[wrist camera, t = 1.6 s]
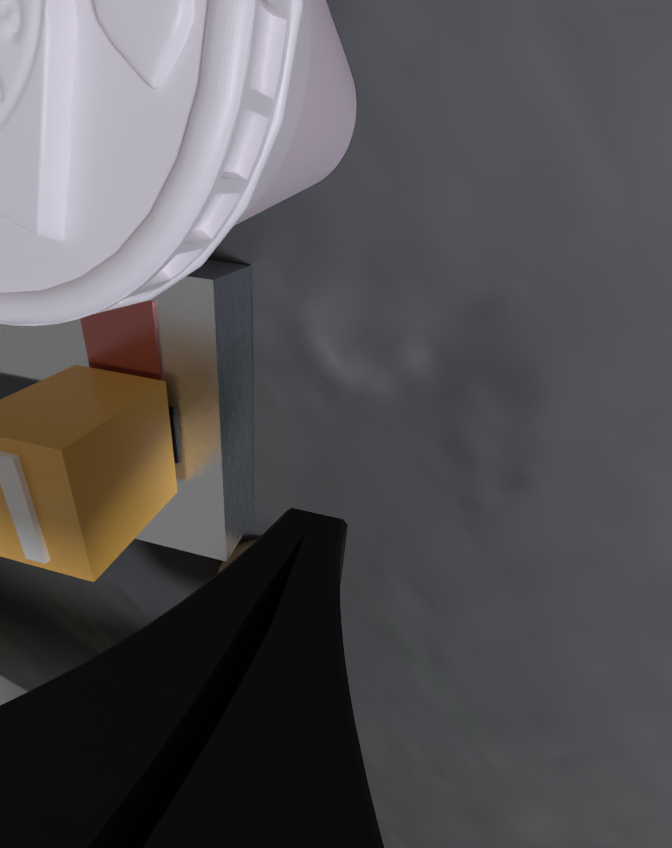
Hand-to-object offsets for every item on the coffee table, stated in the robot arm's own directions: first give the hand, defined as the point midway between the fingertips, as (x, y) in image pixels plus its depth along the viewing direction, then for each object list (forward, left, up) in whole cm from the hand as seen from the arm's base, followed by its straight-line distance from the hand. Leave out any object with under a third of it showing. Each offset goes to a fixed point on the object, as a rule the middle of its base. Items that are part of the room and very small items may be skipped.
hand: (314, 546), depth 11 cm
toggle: (0, +7, -3) cm, 8 cm away
